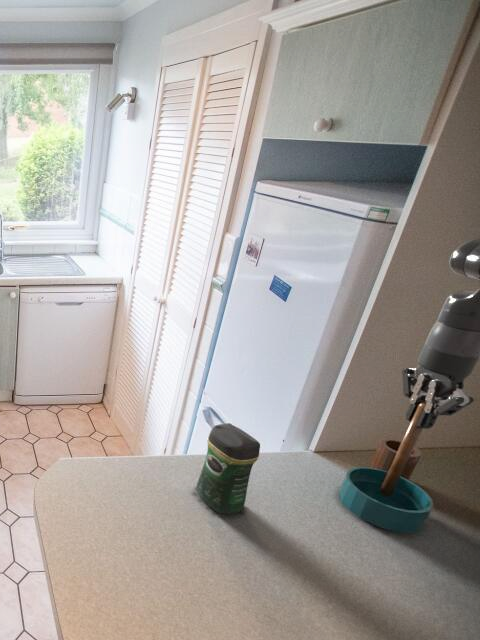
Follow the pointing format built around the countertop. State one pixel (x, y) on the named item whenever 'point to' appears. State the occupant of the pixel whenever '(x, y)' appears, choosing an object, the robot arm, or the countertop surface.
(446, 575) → the countertop surface
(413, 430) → the stick
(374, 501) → the bowl
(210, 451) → the coffee jar
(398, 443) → the utensil pot
